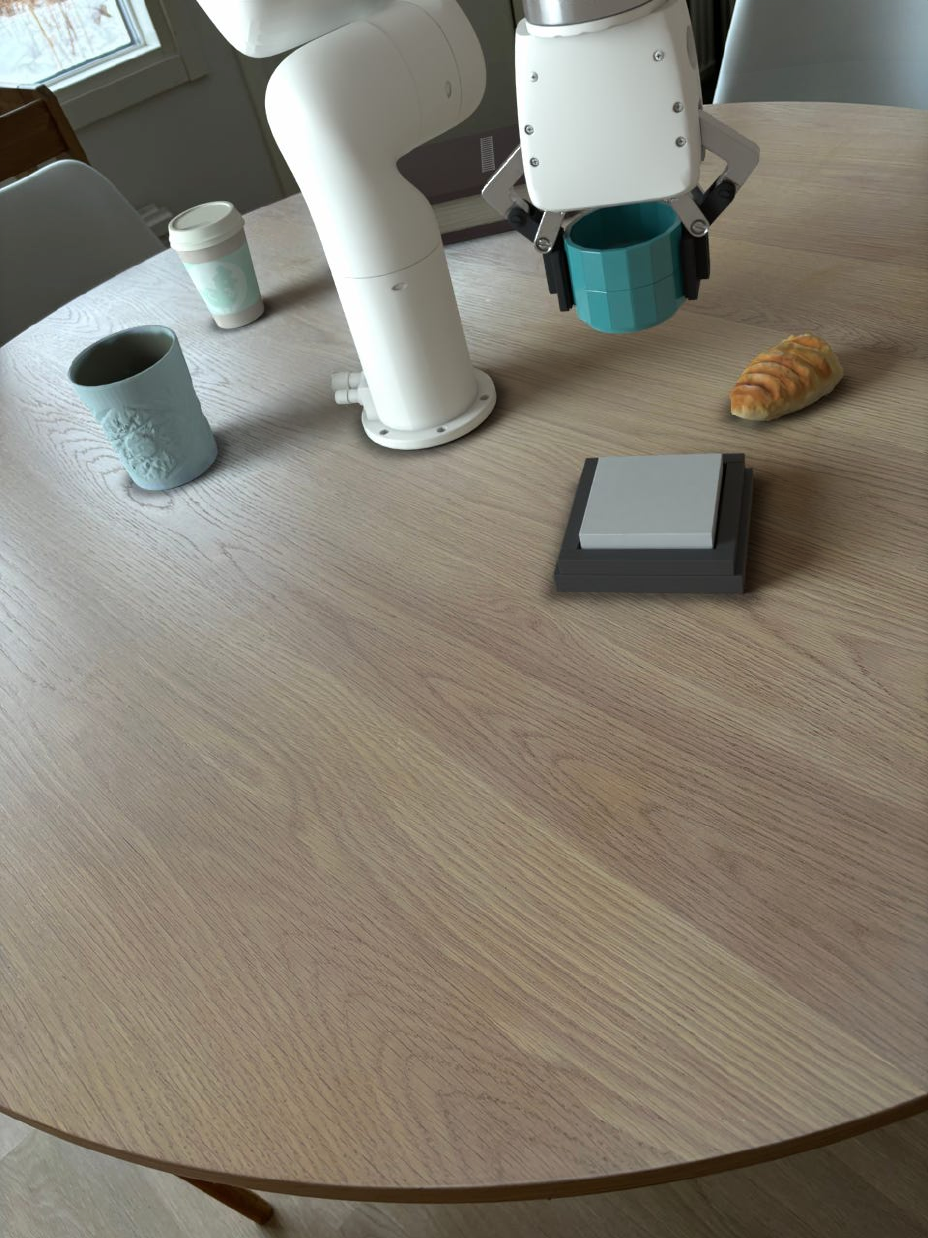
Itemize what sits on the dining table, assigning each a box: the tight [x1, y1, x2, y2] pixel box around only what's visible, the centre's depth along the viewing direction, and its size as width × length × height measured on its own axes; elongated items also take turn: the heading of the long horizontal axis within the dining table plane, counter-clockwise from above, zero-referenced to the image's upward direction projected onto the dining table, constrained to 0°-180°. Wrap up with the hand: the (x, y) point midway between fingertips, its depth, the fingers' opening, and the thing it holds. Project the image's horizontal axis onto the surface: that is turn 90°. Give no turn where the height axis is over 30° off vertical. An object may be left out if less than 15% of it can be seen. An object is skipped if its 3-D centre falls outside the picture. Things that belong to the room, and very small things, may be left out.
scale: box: [552, 452, 754, 595], centre depth 73 cm, size 13×12×3 cm
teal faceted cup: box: [562, 200, 688, 334], centre depth 63 cm, size 7×7×6 cm
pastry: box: [729, 333, 845, 422], centre depth 82 cm, size 9×7×4 cm
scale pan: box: [579, 452, 723, 549], centre depth 72 cm, size 9×9×2 cm
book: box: [396, 122, 570, 246], centre depth 125 cm, size 28×20×6 cm
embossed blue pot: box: [66, 324, 219, 491], centre depth 93 cm, size 10×10×12 cm
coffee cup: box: [168, 200, 265, 330], centre depth 114 cm, size 8×8×12 cm
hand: (630, 293), depth 65 cm, fingers closed on teal faceted cup, 7 cm apart
